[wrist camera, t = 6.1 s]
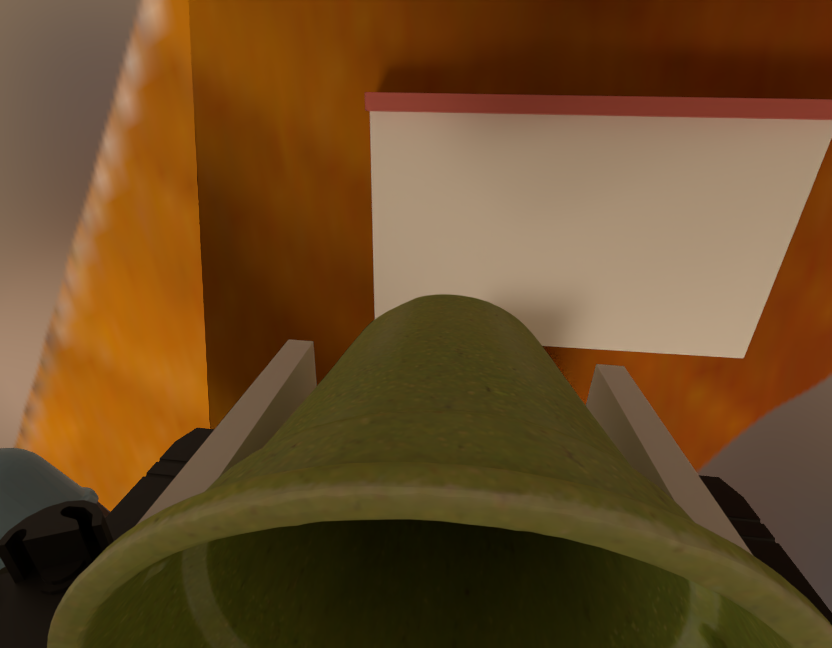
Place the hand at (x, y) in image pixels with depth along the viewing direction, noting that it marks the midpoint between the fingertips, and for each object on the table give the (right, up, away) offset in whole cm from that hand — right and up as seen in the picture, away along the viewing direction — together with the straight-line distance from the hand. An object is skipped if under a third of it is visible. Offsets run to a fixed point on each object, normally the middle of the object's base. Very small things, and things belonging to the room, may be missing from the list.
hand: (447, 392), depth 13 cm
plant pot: (0, 0, 0) cm, 0 cm away
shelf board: (+8, +8, +13) cm, 17 cm away
